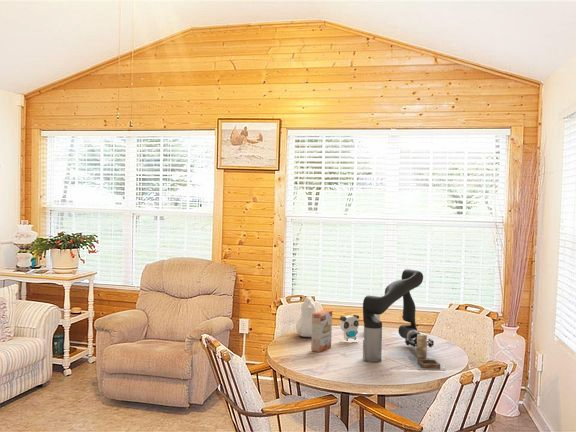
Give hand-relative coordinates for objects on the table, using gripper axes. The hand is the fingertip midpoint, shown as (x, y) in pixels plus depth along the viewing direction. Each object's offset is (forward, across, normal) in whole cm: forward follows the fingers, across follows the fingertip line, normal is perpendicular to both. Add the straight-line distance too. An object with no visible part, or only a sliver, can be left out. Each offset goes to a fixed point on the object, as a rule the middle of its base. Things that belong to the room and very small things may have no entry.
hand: (422, 345), depth 279 cm
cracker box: (-20, -51, +8) cm, 56 cm away
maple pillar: (-2, 0, +7) cm, 7 cm away
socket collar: (+12, 0, +8) cm, 14 cm away
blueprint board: (+6, 0, +8) cm, 10 cm away
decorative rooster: (-54, -56, +8) cm, 78 cm away
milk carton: (-62, -16, +8) cm, 65 cm away
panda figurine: (-40, -33, +8) cm, 53 cm away
